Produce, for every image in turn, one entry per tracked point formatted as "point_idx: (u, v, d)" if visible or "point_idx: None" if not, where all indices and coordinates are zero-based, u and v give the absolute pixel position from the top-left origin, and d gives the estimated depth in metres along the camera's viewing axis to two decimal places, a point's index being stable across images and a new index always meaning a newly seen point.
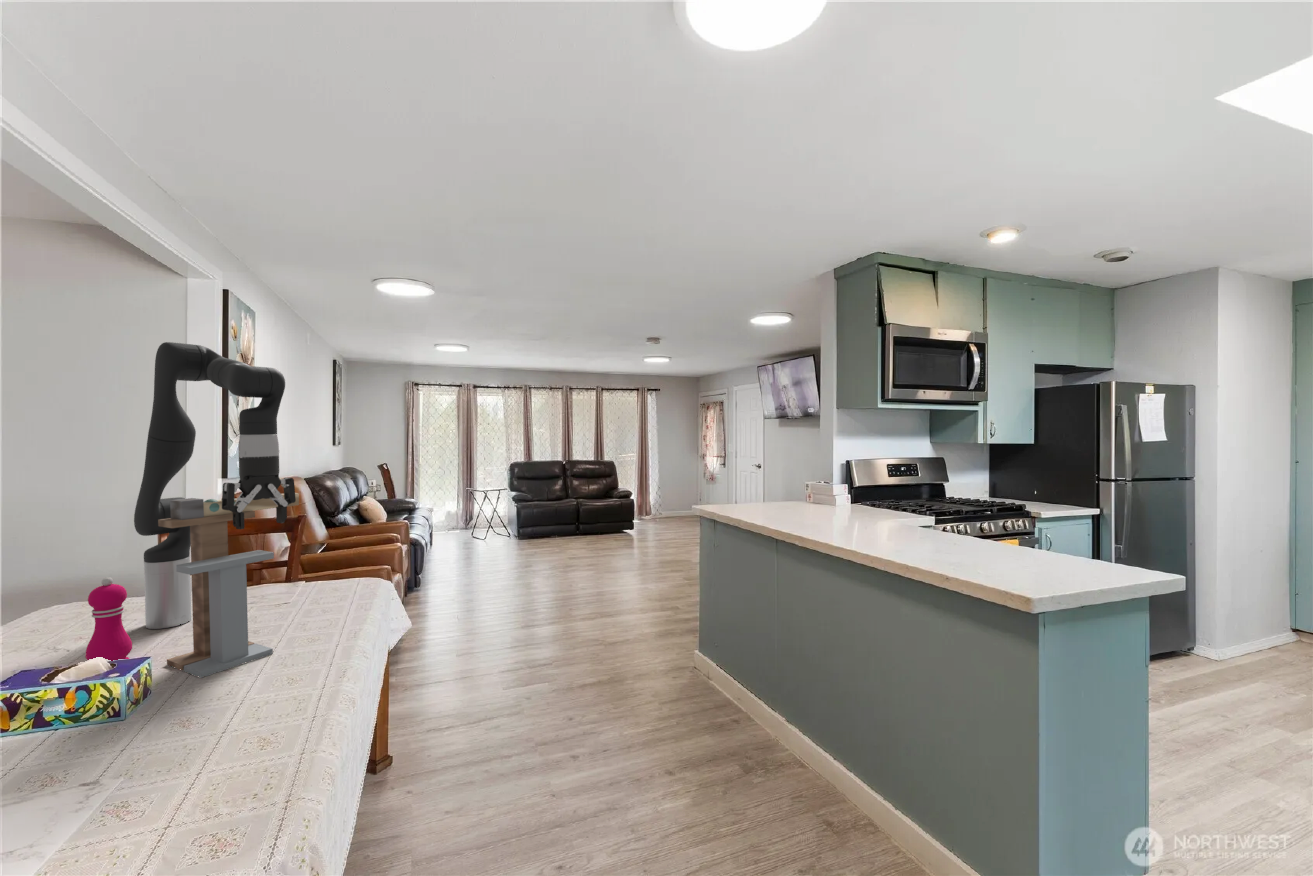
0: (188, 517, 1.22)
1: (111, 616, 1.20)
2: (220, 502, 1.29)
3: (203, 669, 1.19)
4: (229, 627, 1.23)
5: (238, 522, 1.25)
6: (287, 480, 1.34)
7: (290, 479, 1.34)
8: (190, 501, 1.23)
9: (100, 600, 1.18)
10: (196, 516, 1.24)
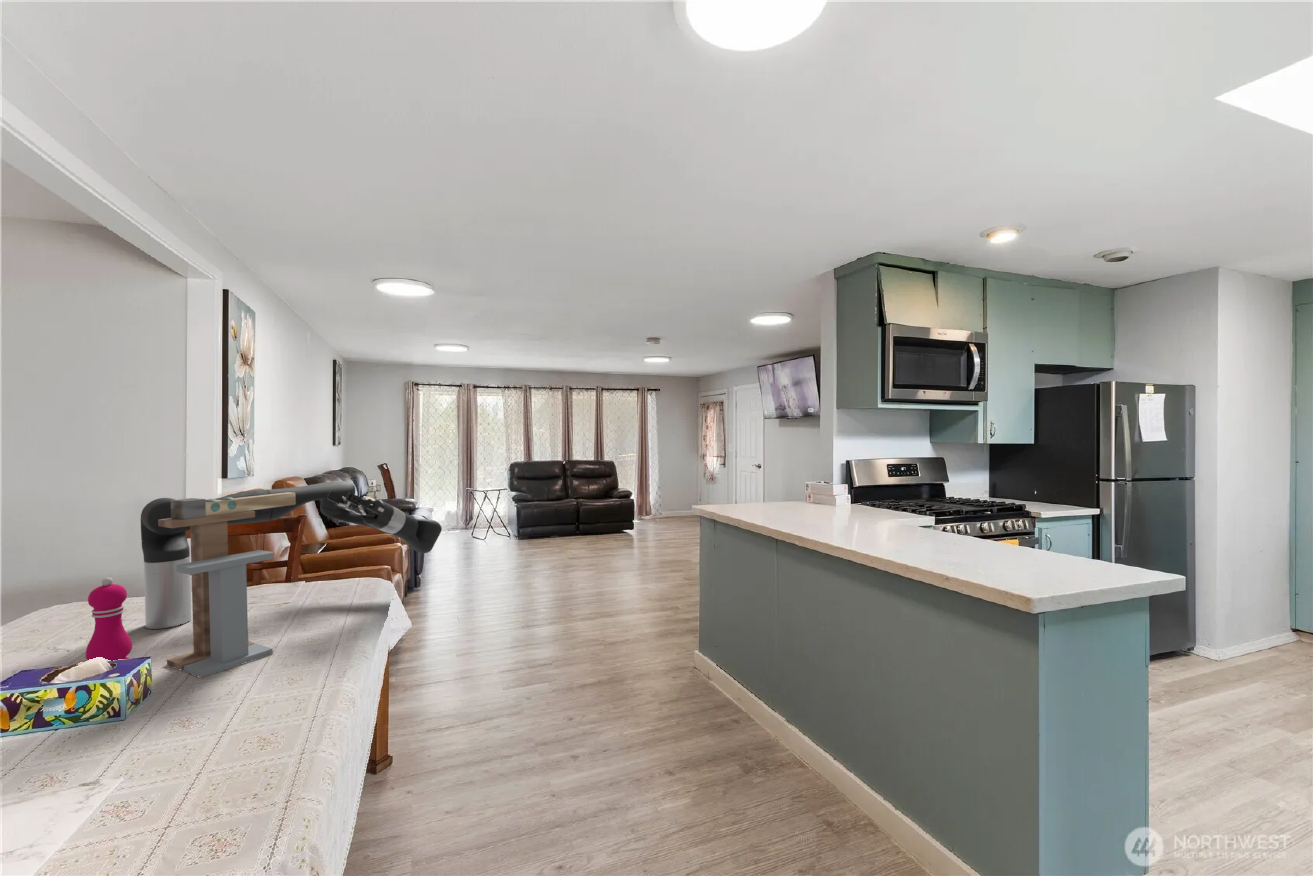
0: (191, 517, 1.23)
1: (111, 616, 1.20)
2: (221, 502, 1.29)
3: (203, 669, 1.19)
4: (229, 627, 1.23)
5: (352, 501, 1.53)
6: None
7: (352, 512, 1.64)
8: (192, 501, 1.23)
9: (100, 600, 1.18)
10: (198, 516, 1.24)
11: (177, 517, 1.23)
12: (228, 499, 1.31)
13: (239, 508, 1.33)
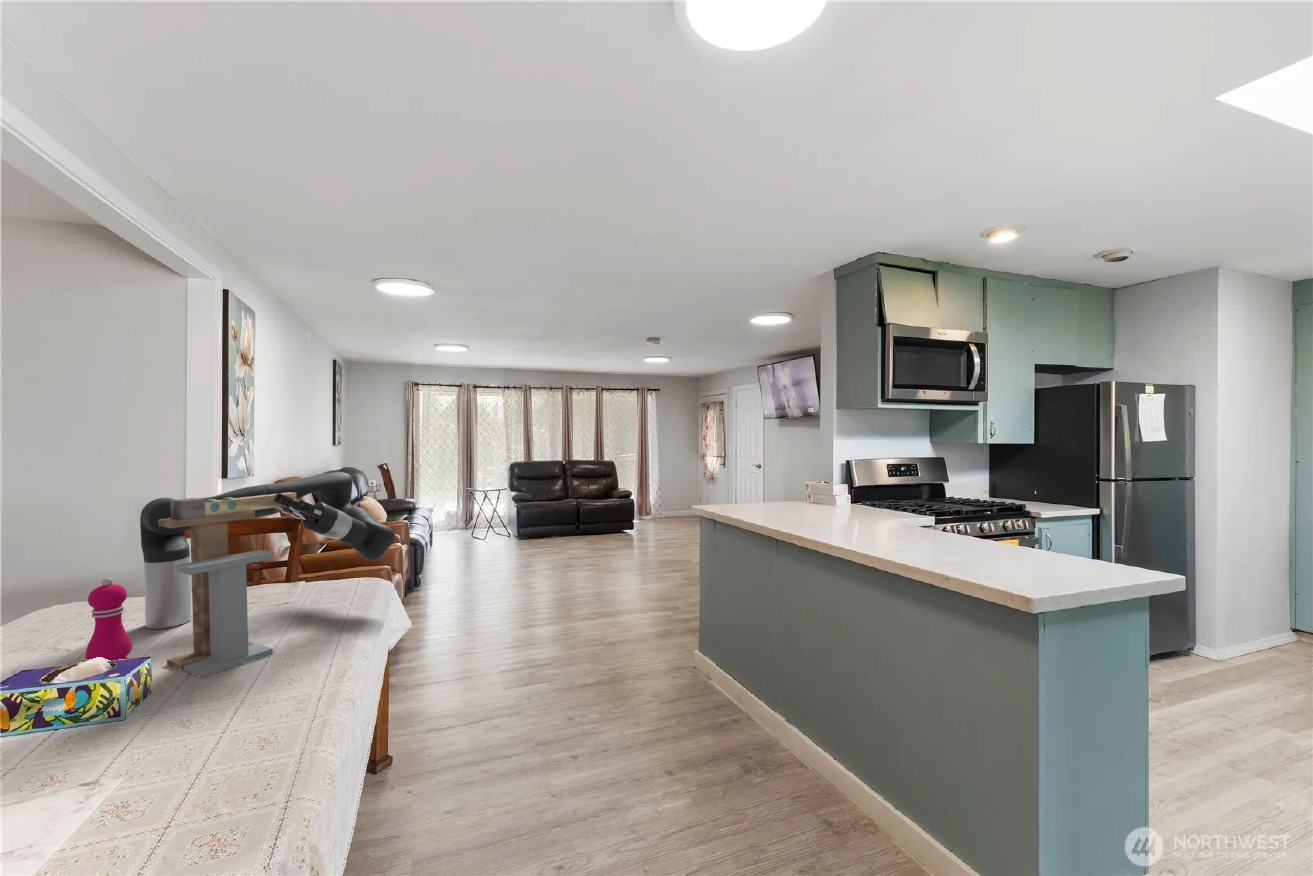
0: (190, 517, 1.23)
1: (111, 616, 1.20)
2: (220, 502, 1.29)
3: (203, 669, 1.19)
4: (229, 627, 1.23)
5: (281, 502, 1.38)
6: None
7: (289, 514, 1.49)
8: (192, 501, 1.23)
9: (100, 600, 1.18)
10: (198, 516, 1.24)
11: (176, 517, 1.23)
12: (228, 499, 1.31)
13: (239, 508, 1.32)
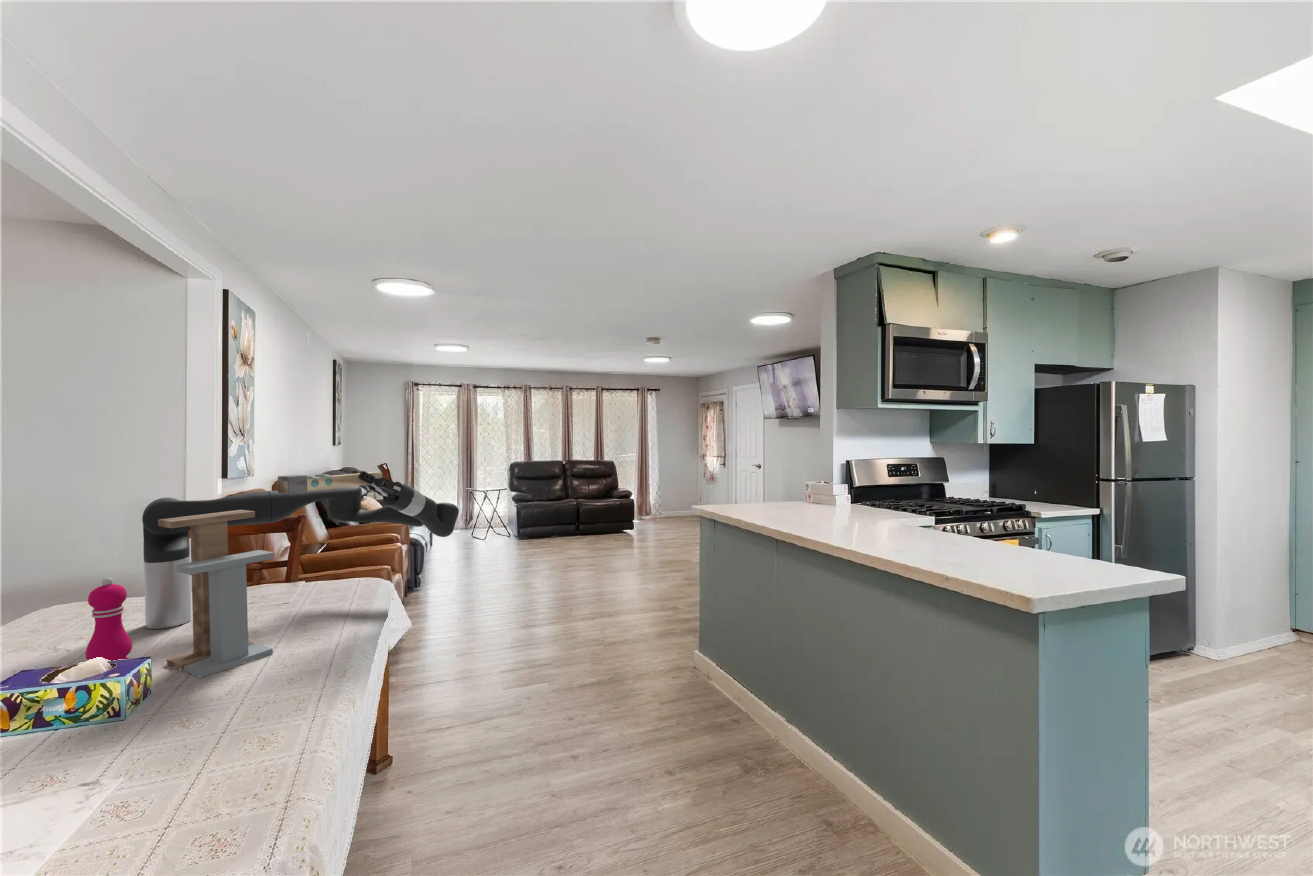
0: (295, 491, 1.35)
1: (111, 616, 1.20)
2: (319, 478, 1.41)
3: (203, 669, 1.19)
4: (229, 627, 1.23)
5: (365, 479, 1.51)
6: None
7: (368, 491, 1.61)
8: (296, 477, 1.35)
9: (100, 600, 1.18)
10: (301, 490, 1.36)
11: (283, 491, 1.35)
12: (325, 476, 1.43)
13: (334, 484, 1.45)
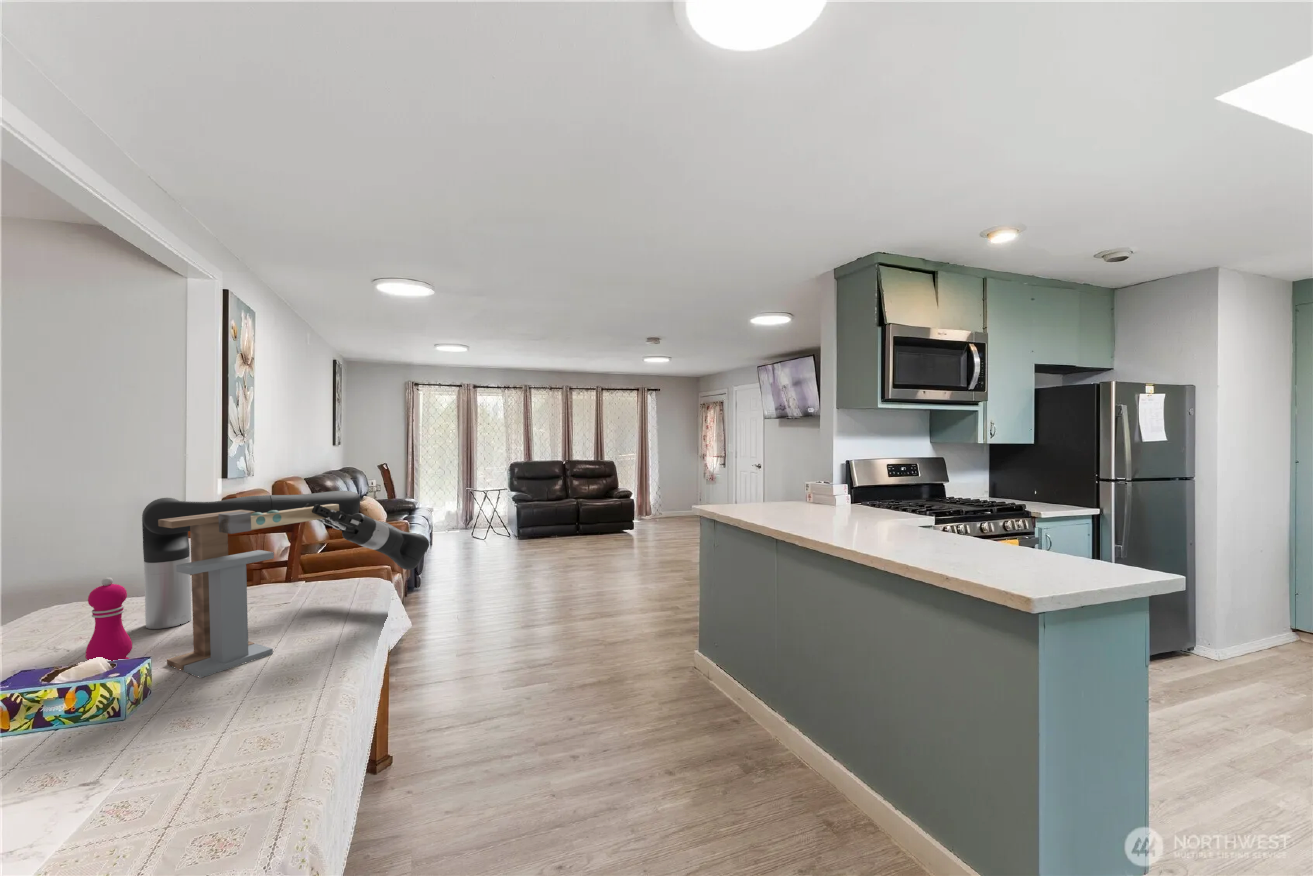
0: (237, 531, 1.24)
1: (111, 616, 1.20)
2: (266, 515, 1.30)
3: (203, 669, 1.19)
4: (229, 627, 1.23)
5: (319, 513, 1.40)
6: None
7: (326, 524, 1.50)
8: (238, 515, 1.24)
9: (100, 600, 1.18)
10: (244, 530, 1.25)
11: (224, 531, 1.24)
12: (273, 512, 1.32)
13: (284, 520, 1.34)
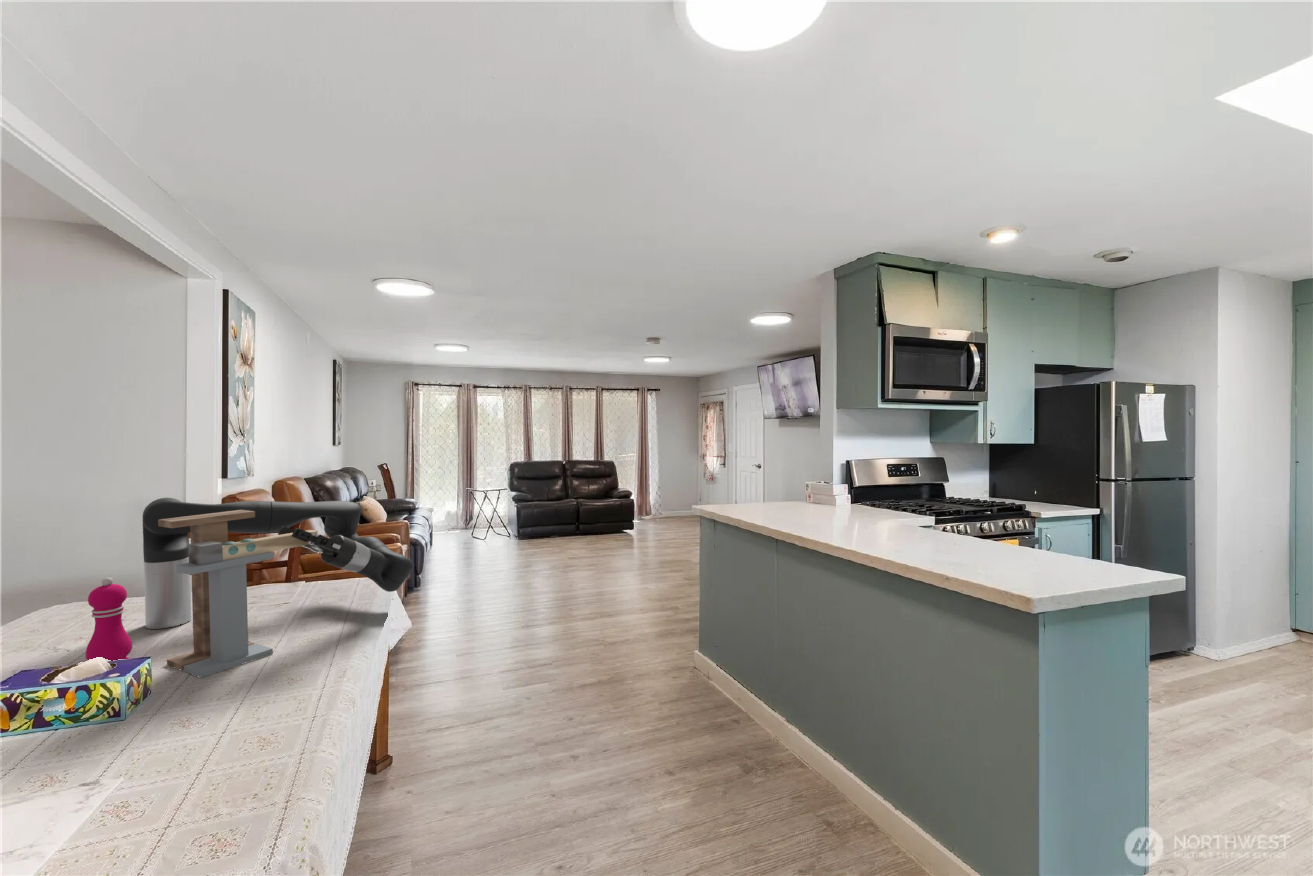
0: (207, 562, 1.19)
1: (111, 616, 1.20)
2: (239, 544, 1.25)
3: (203, 669, 1.19)
4: (229, 627, 1.23)
5: (300, 537, 1.35)
6: (308, 546, 1.46)
7: None
8: (209, 546, 1.19)
9: (100, 600, 1.18)
10: (215, 561, 1.20)
11: (194, 562, 1.19)
12: (247, 541, 1.27)
13: (258, 549, 1.29)
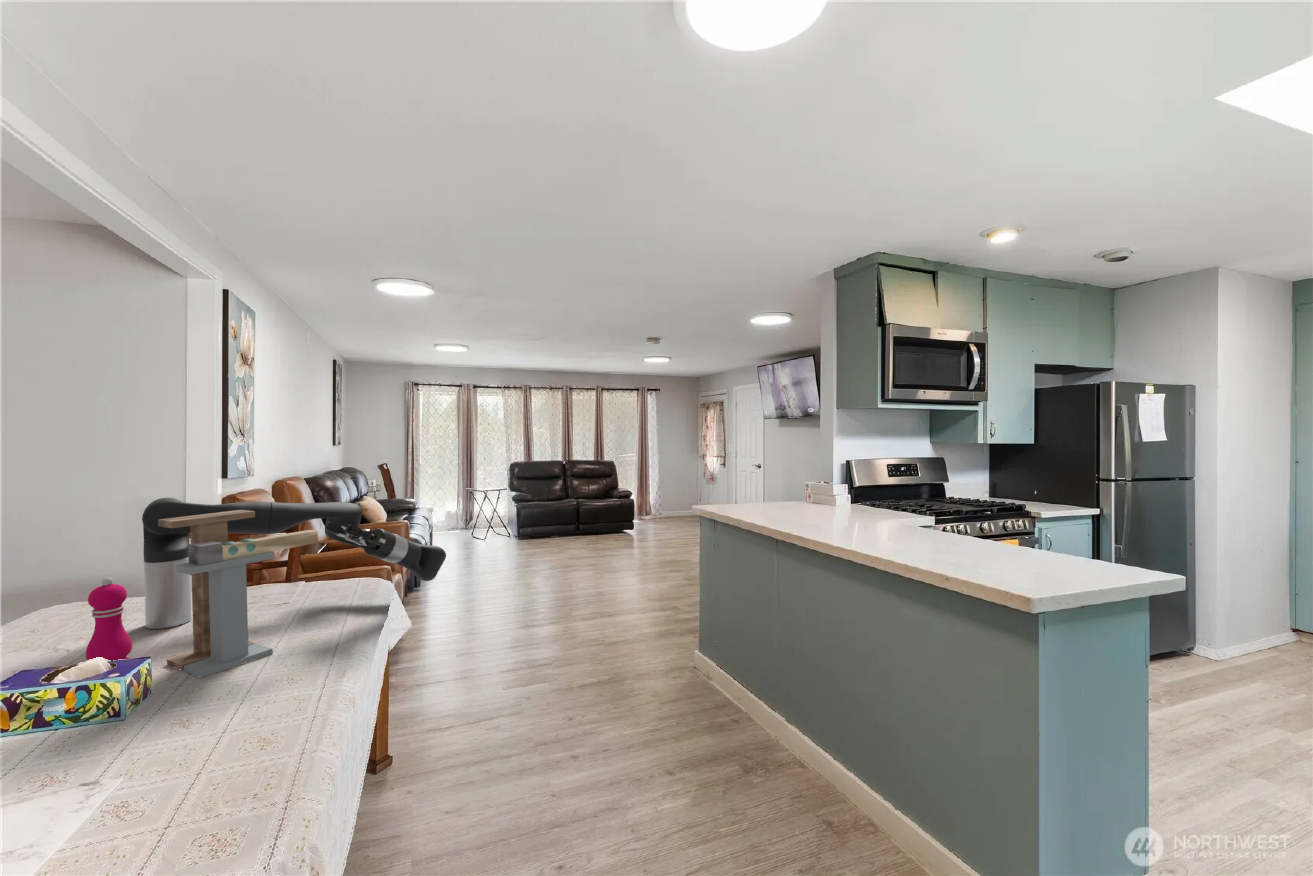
0: (207, 562, 1.19)
1: (111, 616, 1.20)
2: (239, 544, 1.25)
3: (203, 669, 1.19)
4: (229, 627, 1.23)
5: (352, 533, 1.45)
6: None
7: (352, 541, 1.56)
8: (209, 546, 1.19)
9: (100, 600, 1.18)
10: (215, 561, 1.20)
11: (194, 562, 1.19)
12: (247, 541, 1.27)
13: (258, 549, 1.29)
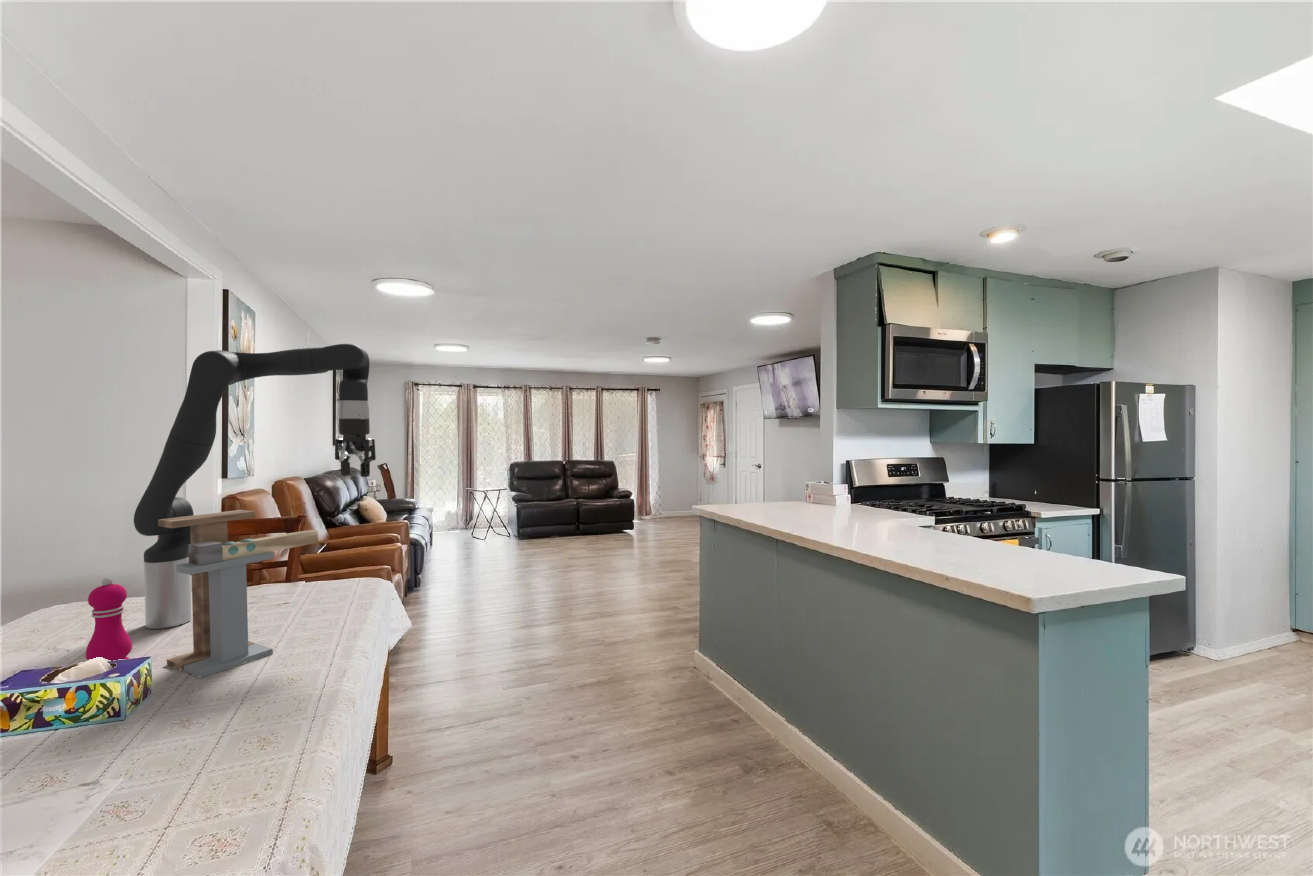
0: (207, 562, 1.19)
1: (111, 616, 1.20)
2: (239, 544, 1.25)
3: (203, 669, 1.19)
4: (229, 627, 1.23)
5: None
6: None
7: None
8: (209, 546, 1.19)
9: (100, 600, 1.18)
10: (215, 561, 1.20)
11: (194, 562, 1.19)
12: (247, 541, 1.27)
13: (258, 549, 1.29)
